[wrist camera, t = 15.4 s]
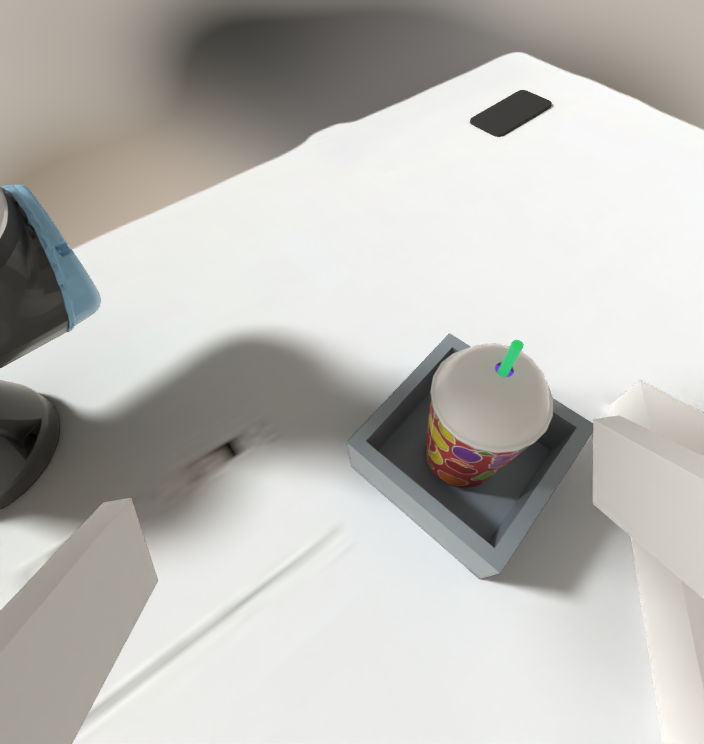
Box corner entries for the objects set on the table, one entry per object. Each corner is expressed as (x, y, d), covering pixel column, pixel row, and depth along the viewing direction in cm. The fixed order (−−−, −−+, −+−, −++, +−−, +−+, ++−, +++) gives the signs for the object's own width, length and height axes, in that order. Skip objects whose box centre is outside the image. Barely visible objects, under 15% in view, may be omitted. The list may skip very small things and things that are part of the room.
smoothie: (472, 407, 43) (535, 272, 25) (518, 478, 39) (630, 375, 21) (401, 437, 41) (417, 317, 24) (441, 514, 37) (495, 435, 20)
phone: (467, 119, 72) (521, 88, 76) (466, 124, 73) (520, 93, 77) (499, 136, 69) (554, 102, 73) (498, 141, 69) (553, 107, 74)
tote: (351, 466, 41) (346, 442, 35) (440, 368, 46) (449, 333, 40) (479, 579, 35) (500, 573, 29) (564, 452, 41) (596, 426, 35)
